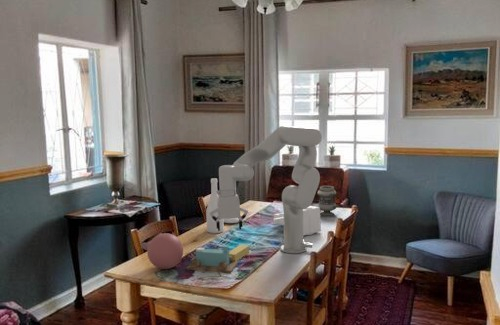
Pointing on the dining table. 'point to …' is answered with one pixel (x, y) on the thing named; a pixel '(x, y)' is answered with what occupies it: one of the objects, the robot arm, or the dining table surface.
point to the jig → (222, 266)
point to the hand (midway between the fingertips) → (229, 229)
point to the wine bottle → (212, 206)
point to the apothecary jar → (327, 200)
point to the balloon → (164, 250)
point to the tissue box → (305, 220)
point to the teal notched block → (212, 256)
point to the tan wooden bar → (239, 252)
